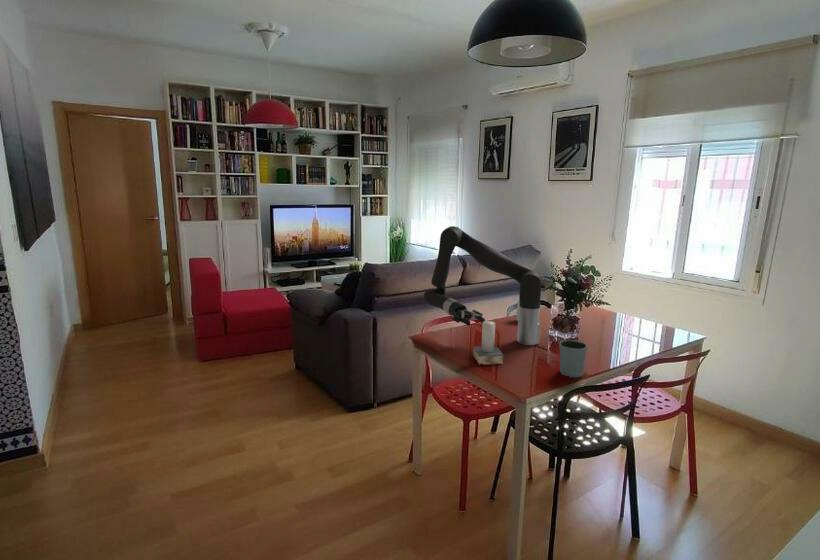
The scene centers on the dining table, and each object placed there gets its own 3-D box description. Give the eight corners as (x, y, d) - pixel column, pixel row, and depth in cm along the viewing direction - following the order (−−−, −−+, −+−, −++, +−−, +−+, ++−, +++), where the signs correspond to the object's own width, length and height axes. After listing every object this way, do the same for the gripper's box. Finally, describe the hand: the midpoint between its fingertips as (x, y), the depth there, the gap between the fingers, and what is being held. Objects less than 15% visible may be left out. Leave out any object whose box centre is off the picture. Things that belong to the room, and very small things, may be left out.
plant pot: (588, 378, 173) (591, 349, 171) (561, 378, 173) (564, 348, 171) (579, 368, 183) (581, 339, 180) (554, 367, 183) (556, 339, 181)
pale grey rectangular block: (491, 348, 193) (493, 320, 191) (495, 352, 188) (496, 324, 185) (479, 348, 192) (481, 321, 190) (483, 352, 187) (484, 324, 185)
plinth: (495, 354, 196) (496, 345, 195) (502, 363, 187) (503, 354, 186) (473, 355, 195) (473, 346, 194) (478, 364, 186) (479, 355, 185)
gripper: (443, 302, 207) (465, 316, 194) (467, 299, 214) (490, 312, 202) (441, 317, 209) (463, 332, 196) (465, 314, 217) (487, 328, 204)
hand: (477, 322), depth 199 cm, fingers open, 8 cm apart
